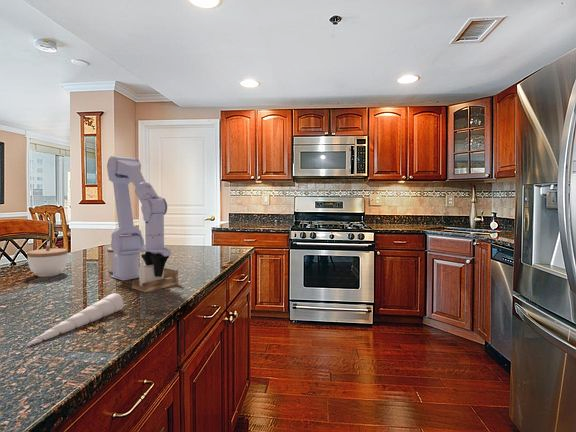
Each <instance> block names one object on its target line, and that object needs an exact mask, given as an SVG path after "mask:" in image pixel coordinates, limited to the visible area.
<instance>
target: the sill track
mask: <svg viewBox="0 0 576 432" xmlns="http://www.w3.org/2000/svg"><path fill="white" fill-rule="evenodd" d="M177 285H179V269H177V268H171V267H167V266H164V279H160V280H156V281H151V282H146V283H142V286H140V285H139V279H136V280H135V279H133V280H132V284H131V288H132V289H133V290H134V289H135V290H137V291H139V292H140V291H141V292H143V293H147V292H152V291H154V290H155V291H156V290H160V289H165V288H169V287H173V286H177Z"/></svg>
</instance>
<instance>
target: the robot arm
mask: <svg viewBox="0 0 576 432" xmlns="http://www.w3.org/2000/svg"><path fill="white" fill-rule="evenodd" d="M106 169H107V176H108V181H110V182H111V183H112V184H113V185H112V186H113V194H114V201H115V207H116V216H117V224H118V227H117V228H116V229H115V230H114V231H113V232H112V233H111V236H110V237H111V240H110V247H111V248H112V250H113V252H114V253H115V254H116V255H115V256H114V258H113V273H112V275H110V277H111V278H114V279H117V280H120V281H128V280H132V279H133V280H135V279H139V267H140V262H139V261H140V256H139V255H140V253H143V254H141V258H142V260H143V261H144V264H145V266H148V265H154V273H155V277H159V276H162V274H163V269H164V267H166V266H165V265H166V263H167V261H168V260H169V258H170V256H171V255H172V254H171V251H172V250H171V249H170V248H169V249H168V248H167V247H165V215H166V214H167V212H168V203H167V201H166V198H164V197H161V196H159V195H158V194H157V192H156V190H155V189H154V187H153V186H152V184H151V183H149V182H147V181H146V180H145V178H144V176H143V174H142V172H141V171H142V164H141V162H140V160H139V158H138V157H127V156H126V157H125V156H115V155H111V156H110V157H109V158H108V159H107V164H106ZM130 183H132V184H133V186H134V187H135V188H134V193H135V195H136V197H137V198H138V201H139V202H140V203H141V208H140V209H141V214H142V218H143V221H144V224H145V228H144V229H145V235H144V236H143V235H142V230H140V229H139V228H138V227H136V226H135V225H134V219H133V211H132V204H131V196H130V188H129V184H130ZM144 237H145V239H144Z"/></svg>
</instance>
